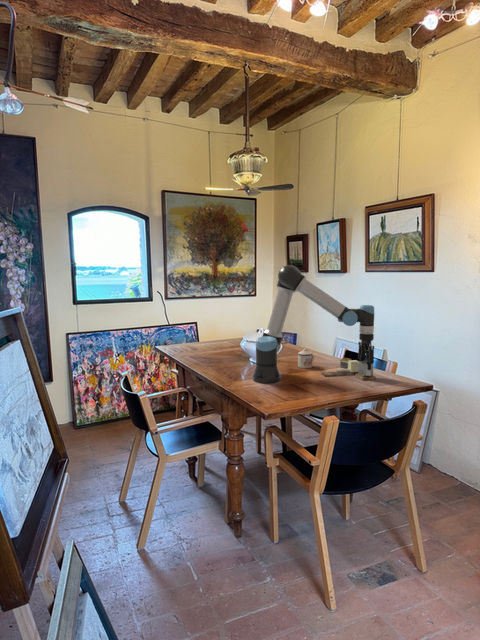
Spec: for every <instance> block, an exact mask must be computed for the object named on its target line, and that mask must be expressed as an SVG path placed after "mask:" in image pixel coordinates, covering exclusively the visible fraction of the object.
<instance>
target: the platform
mask: <svg viewBox="0 0 480 640" xmlns="http://www.w3.org/2000/svg"><path fill="white" fill-rule="evenodd" d="M349 360H351V358H348V357H341V359H338V362H339V363H340V366H339V367H340V368H342V369H345V370H347V369H348V361H349Z"/></svg>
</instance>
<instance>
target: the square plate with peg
mask: <svg viewBox="0 0 480 640" xmlns="http://www.w3.org/2000/svg"><path fill="white" fill-rule="evenodd" d="M354 376H355V377H356V379H359V380H361V381H371V380H372V381H373V380H376V379H377V378H376V376H374V374H373V375H372V376H362V375H360V374H355V375H354Z"/></svg>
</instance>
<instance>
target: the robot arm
mask: <svg viewBox="0 0 480 640" xmlns="http://www.w3.org/2000/svg"><path fill="white" fill-rule="evenodd" d="M277 279H278V280H277V284H276V287H277V292H276V293H277V294H276V297H275V301H274V304H273V308H272V310H271V315H270V318H269V321H268V325H267V328H266V329H264V331H263V334H262V336H260V337H257V338H256V341H255V368H254V370H253V375H252V380H253V382H256V383H261V384H272V383H278V382H279V381H280V380H281V375H280V371H279V369H278V353H279V351H280V350H281V348H282V347H281V346H282V341H283V337H284V336H283V334H282V333H283V332H282V331H283V328H284V326H285V321H286V318H287V315H288V312H289V308H290V304H291V301H292V298H293V295H294V293H296V292H298V293H299V294H301V295H303V296H304V297H306V298H307V299H309V300H310V301H311V302H313V303H314V304H316V305H317V306H319V307H321V309H323V310H324V311H326V312H328V313H329V314H331V315H332V316H334V317H335V318H336V319H337V322H339V323H343V324H344V325H345V326H348V327H353V326H355V325H356V324H357V323H359V330H358V331H359V335H358V336H359V338H358V339H359V341H358V351H357V353H358V354H357V359H358V360H359V361H367V363H366V376H369V375H371V364H373V365H374V363H375V357H374V356H375V345H373V344H372V341H373V340H374V338H375V337H374V332H375V330H374V329H375V326H374V325H375V306H374V305H371V304H361V305H360V306H359V308H349V307H347V306H346V305H344V304H343V303H341V302H340V301H338V300H337V299H335V298H334V297H333V296H331V295H330V294H328V293H326V292H325V291H323V289H320V288H319V287H317V285H315V284H314V283H312V282H310V281H309V280H307V278H306V276H305V275H304V274H303V273H302V272H301V270H300V269H299V268H298V267H297V266H295V265H292V264H287V265H284V266H282V267H281V268H280V269H279V270H278V273H277Z"/></svg>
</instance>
